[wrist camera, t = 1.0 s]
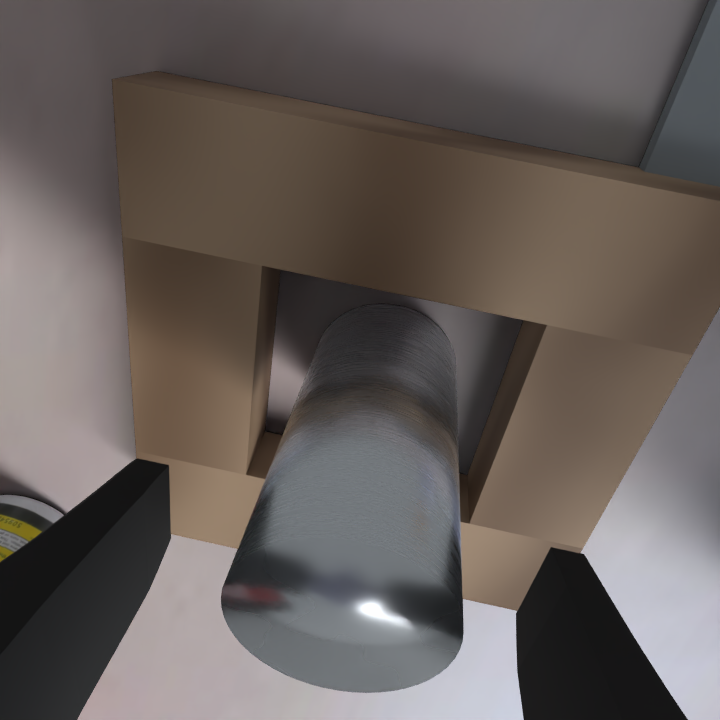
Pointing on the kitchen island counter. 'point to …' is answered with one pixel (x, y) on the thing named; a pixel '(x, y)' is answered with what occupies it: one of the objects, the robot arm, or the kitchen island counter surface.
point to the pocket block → (405, 277)
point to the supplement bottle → (22, 521)
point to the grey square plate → (692, 112)
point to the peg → (359, 515)
